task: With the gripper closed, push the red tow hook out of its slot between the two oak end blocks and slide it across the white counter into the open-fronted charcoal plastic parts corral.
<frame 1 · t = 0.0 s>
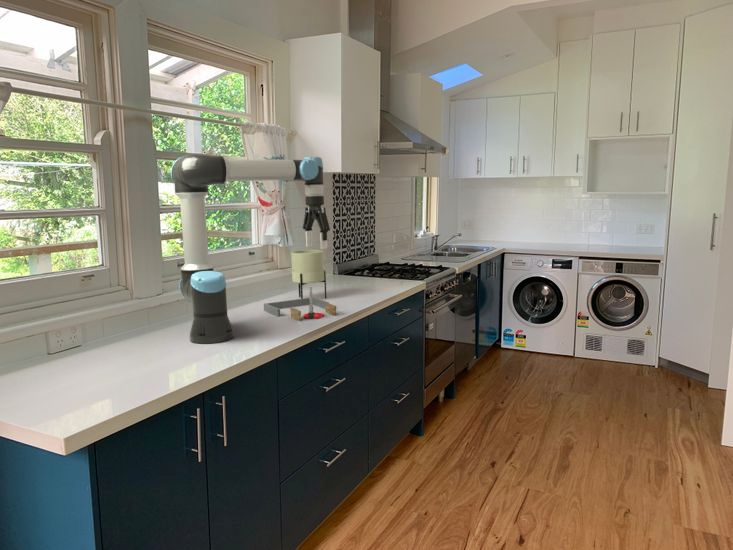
hand: (316, 247, 233), 28 cm above the worktop, fingers open, 13 cm apart
tray: (296, 309, 247), on the worktop
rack: (313, 316, 232), on the worktop
planter: (308, 299, 271), on the worktop
tow hook: (313, 317, 232), on the worktop
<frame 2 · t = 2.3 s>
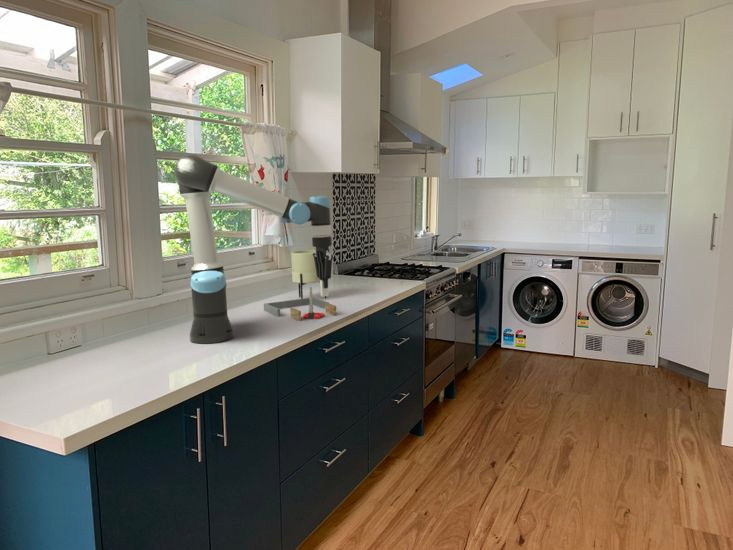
hand: (324, 295, 222), 10 cm above the worktop, fingers closed
nothing on the worktop moved.
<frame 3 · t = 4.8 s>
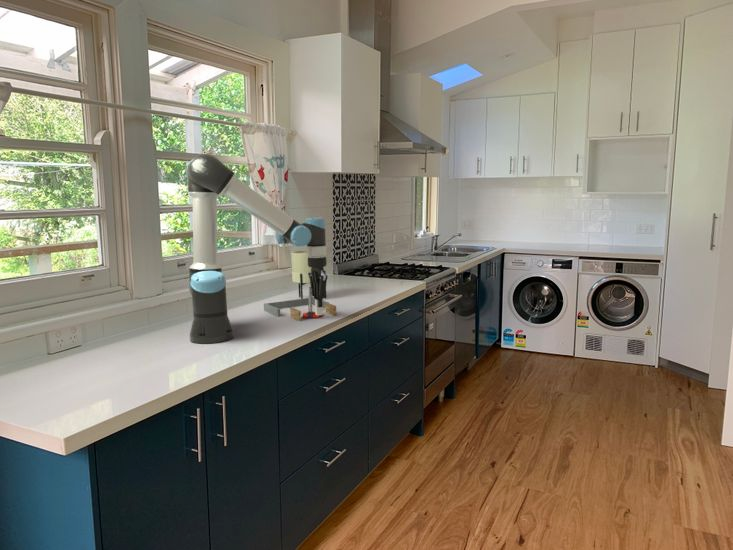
hand: (319, 314, 228), 2 cm above the worktop, fingers closed
tow hook: (312, 316, 233), on the worktop, touching gripper
everything else where it was.
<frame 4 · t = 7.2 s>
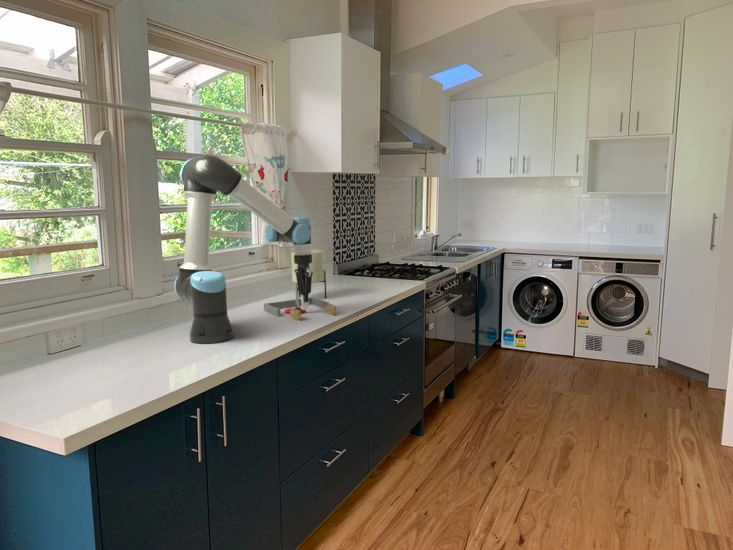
hand: (305, 309, 239), 2 cm above the worktop, fingers closed
tow hook: (294, 312, 242), on the worktop, touching gripper
everything else where it was.
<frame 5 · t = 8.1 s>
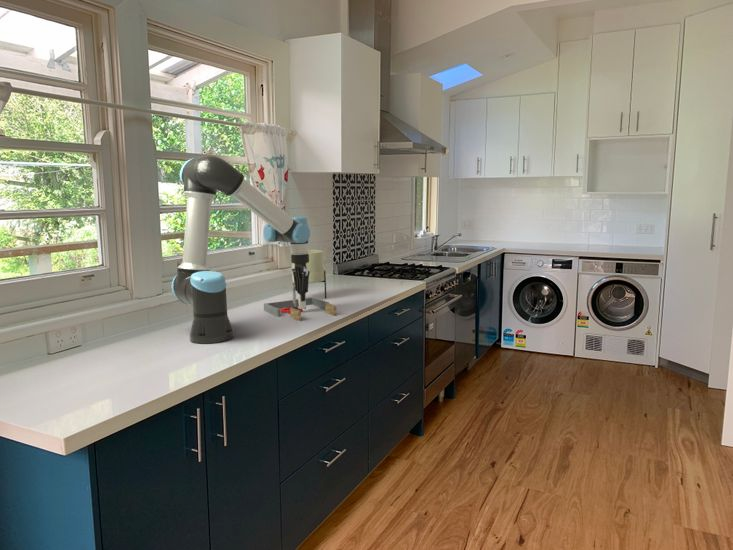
hand: (302, 308, 241), 2 cm above the worktop, fingers closed
tow hook: (290, 311, 244), on the worktop, touching gripper
everything else where it was.
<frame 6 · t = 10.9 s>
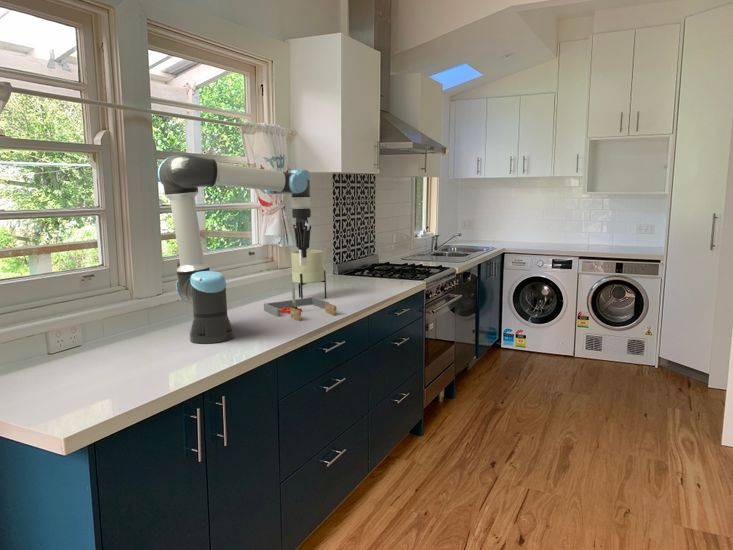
hand: (303, 265, 234), 21 cm above the worktop, fingers closed
tow hook: (289, 311, 244), on the worktop
everything else where it was.
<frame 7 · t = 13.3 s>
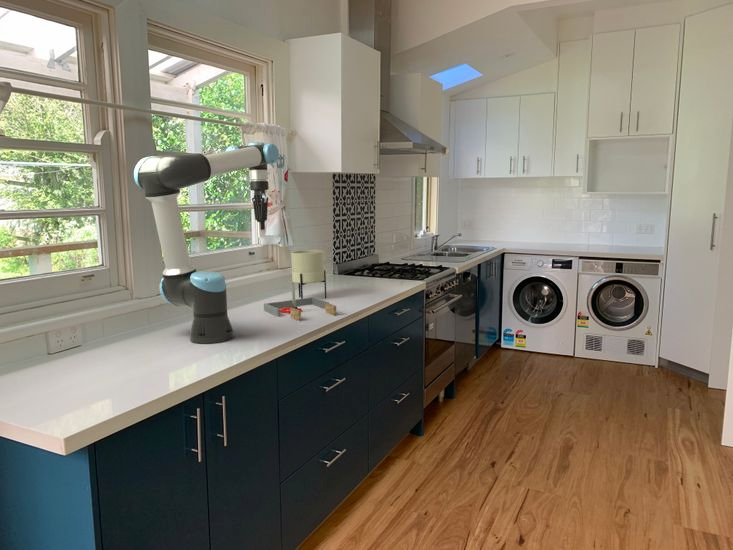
hand: (262, 237, 238), 32 cm above the worktop, fingers closed
nothing on the worktop moved.
at the end: tow hook inside the target area on the tray (3.5 cm from its centre), point 0.0 cm above the tray's base; tow hook moved 16.6 cm from its start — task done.
